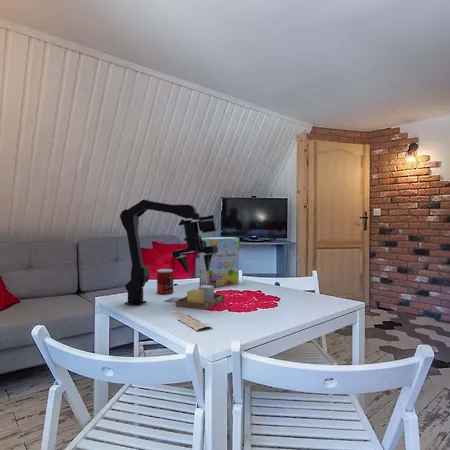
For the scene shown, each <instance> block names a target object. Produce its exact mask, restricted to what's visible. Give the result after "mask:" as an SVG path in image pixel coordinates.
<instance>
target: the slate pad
mask: <svg viewBox="0 0 450 450" xmlns="http://www.w3.org/2000/svg"><path fill="white" fill-rule="evenodd" d="M181 298H182V297H178V296H177V297H176V296H175V297H174V296H173V297H171V298H168V299H165V300H164V301H163V302H164V303H165V302H166V303H173V304H174V303H175V304H176V300H179V299H181Z"/></svg>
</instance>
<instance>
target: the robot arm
mask: <svg viewBox="0 0 450 450" xmlns="http://www.w3.org/2000/svg"><path fill="white" fill-rule="evenodd" d="M148 210H150V211H157V212H162V213H167V214H169V213H170V214H173V215H175V216H178V217H181V218H183V219H181V220H180V222H179V223H178V226H183V229H184V230H183V231H184V237H185V238H183V240H184V242H185V243H186V248H181V249H175V250H173V251H171V252H172V253H171V257H172V258H173V259H175V260H177V261H178V263H180V265H181V266H182V268H183V269H184V271H185V273H186V274H189V273H190V270H189V264H188V255H194V254H200V253H205V254H206V255H204V260H205V266H206V270H207V271H209V267H210V261H211V258H212V256H213V255H214V254H215V252H218V247H217V246H216V245H212V246H207V242H205V241H203V240H202V239H201V238H202V236H201V235H200V232H201V233H202V234H206V233H212V232H217V228H218V227H217V222H216V219H215V215H214V214H209V215H207V216H201V215H200V214H199V213H198V210H197V208H196V207H195V206H194V205H193V204H192V205H191V204H186V203H185V204H169V203H165V202H164V203H163V202H159V201H153V200H152V201H151V200H148V199H142V200H141V201H139V202H137V203H136V204H134V205H133V206H131V207H129V208H128V209H123V210H122V211H121V213H120V216H119V218H120V221H121V224H122V226H123V228H124V230H125V232H126V236H127V243H128V248H129V254H130V261H131V270H130V280H129V281H128V282H127V283H126V284H125V290H126V291H127V301H126V302H124V304H125V305H133V306H139V305H143V304H144V303H147V301H146V300H144V287H145V284H147V283H148V282H149V279H150V276H151V273H150V266H149V265H148V266H146V265H145V264H144V262H143V261H144V260H143V254H142V249H141V248H142V247H141V244H140V243H141V241H140V238H139V232H138V231H139V224H140V219H139V218H140V217H141V216H143V215H144V214H145V213H146V212H147V211H148ZM185 219H188V220H185ZM194 220H195V221H194ZM197 220H198V221H197Z"/></svg>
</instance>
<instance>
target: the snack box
mask: <svg viewBox="0 0 450 450" xmlns="http://www.w3.org/2000/svg"><path fill="white" fill-rule="evenodd" d="M201 239H202V240H203V241H205V242H207V246H212V245H216V246H217V247H218V252H215V254H214V255H213V256H212V258H211V261H210V267H209V271H207V270H206V266H205V260H204V255H206V254H205V253H199V257H200V259H199V262H200V263H199V287H200V286H203V285H209V286H214V288H217V287H220V288H221V287H225V286H232V285H238V284H239V268H240V267H239V265H240V262H239V261H240V255H239V254H240V237H234V236H232V237H231V236H229V237H228V236H227V237H225V236H221V237H217V236H216V237H215V236H214V237H213V236H212V237H201Z"/></svg>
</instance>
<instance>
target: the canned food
mask: <svg viewBox="0 0 450 450" xmlns="http://www.w3.org/2000/svg"><path fill="white" fill-rule="evenodd" d="M156 291H157V294H158V295H172V294H173V293H174V270H173V269H172V268H162V269H157V270H156Z"/></svg>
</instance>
